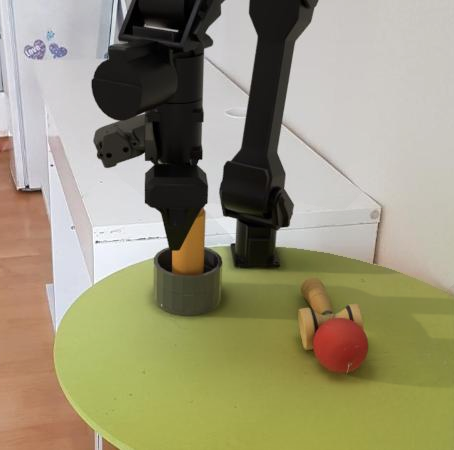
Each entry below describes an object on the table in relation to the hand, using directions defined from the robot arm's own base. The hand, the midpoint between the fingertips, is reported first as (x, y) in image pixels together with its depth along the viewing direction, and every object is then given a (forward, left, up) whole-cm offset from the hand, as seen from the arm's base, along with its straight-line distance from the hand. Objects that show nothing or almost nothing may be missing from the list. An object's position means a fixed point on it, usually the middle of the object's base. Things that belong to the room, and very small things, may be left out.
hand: (173, 231), depth 85 cm
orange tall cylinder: (-7, +2, -12) cm, 14 cm away
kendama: (+2, +18, -13) cm, 22 cm away
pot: (-7, +2, -13) cm, 15 cm away
